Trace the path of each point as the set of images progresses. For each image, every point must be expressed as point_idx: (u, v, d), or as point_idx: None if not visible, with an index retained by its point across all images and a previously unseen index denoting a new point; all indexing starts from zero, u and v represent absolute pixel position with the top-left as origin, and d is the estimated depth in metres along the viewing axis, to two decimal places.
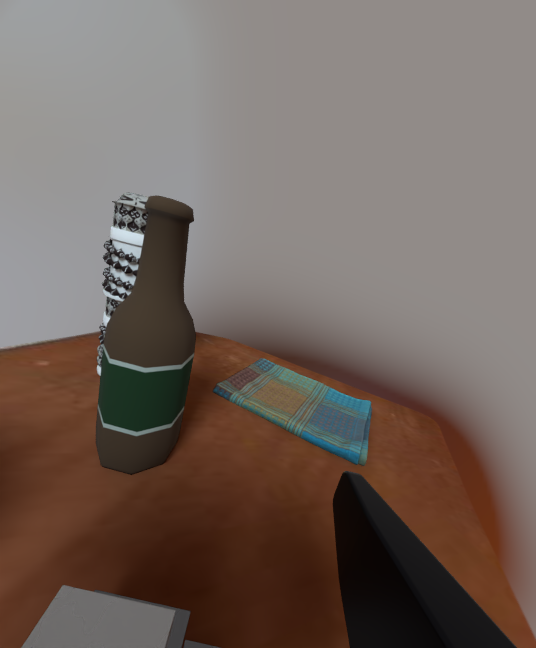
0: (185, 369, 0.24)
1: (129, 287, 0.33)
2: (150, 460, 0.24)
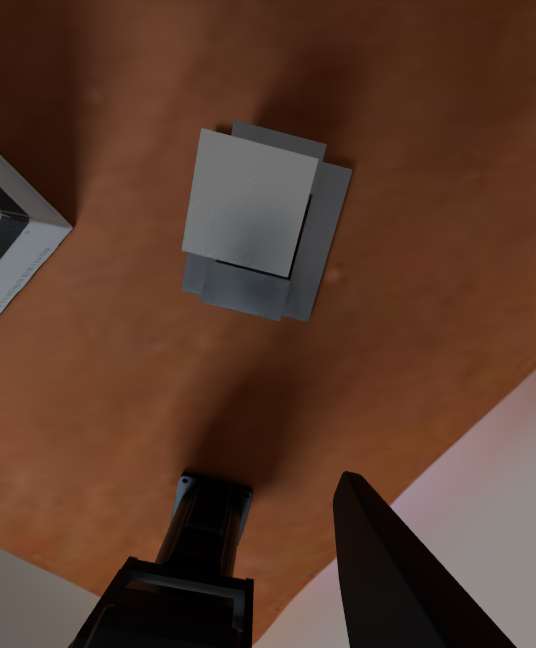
0: None
1: None
2: None
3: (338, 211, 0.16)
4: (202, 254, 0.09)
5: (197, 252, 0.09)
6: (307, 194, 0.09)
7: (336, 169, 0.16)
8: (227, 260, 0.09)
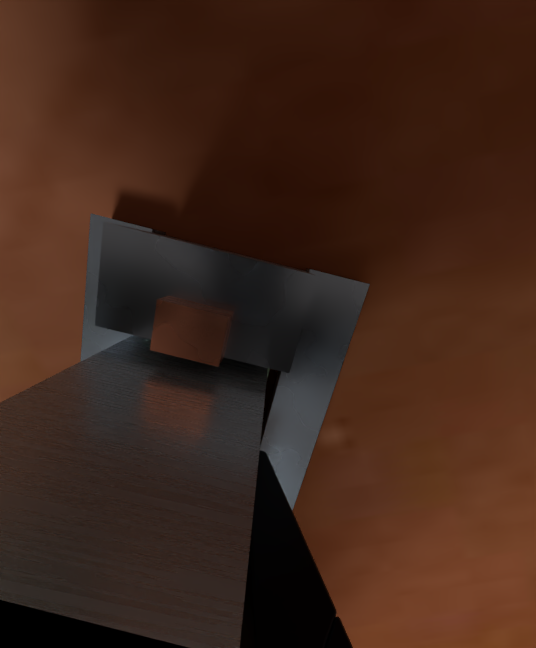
0: None
1: None
2: None
3: (342, 354, 0.09)
4: None
5: None
6: None
7: (338, 283, 0.08)
8: None
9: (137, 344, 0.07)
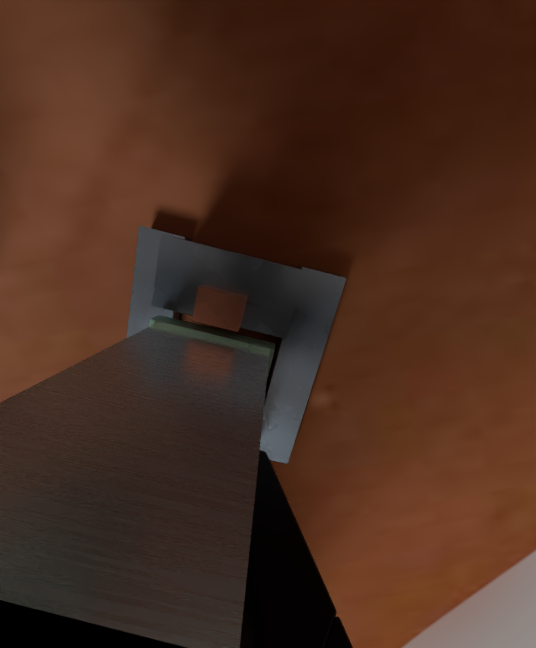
0: None
1: None
2: None
3: (326, 331, 0.12)
4: None
5: None
6: None
7: (323, 277, 0.11)
8: None
9: (137, 344, 0.07)
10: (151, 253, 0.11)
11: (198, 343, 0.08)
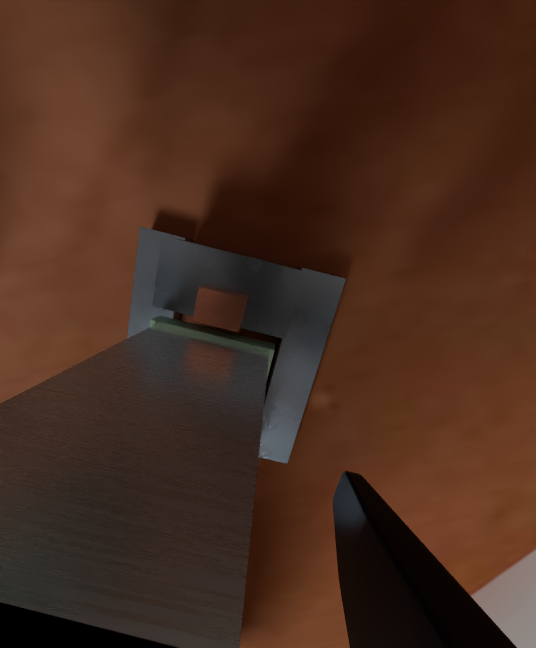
0: None
1: None
2: None
3: (326, 332, 0.12)
4: None
5: None
6: None
7: (323, 278, 0.11)
8: None
9: (138, 344, 0.07)
10: (151, 254, 0.11)
11: (198, 343, 0.08)
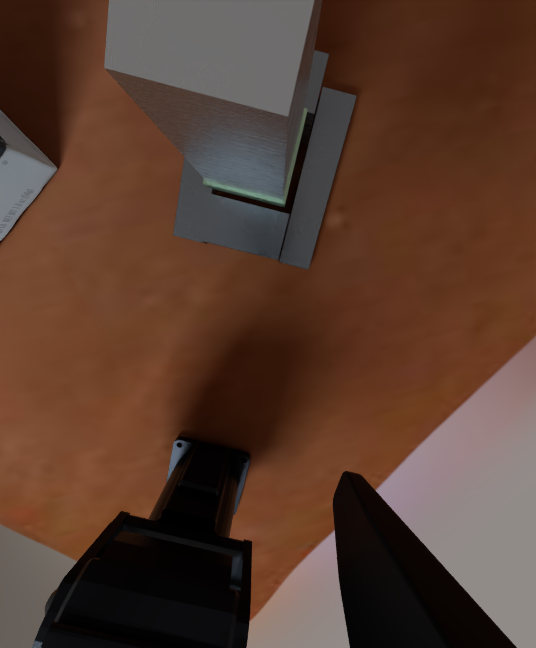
0: None
1: None
2: None
3: (341, 143, 0.15)
4: (140, 76, 0.05)
5: (131, 71, 0.05)
6: None
7: (339, 95, 0.15)
8: (184, 86, 0.05)
9: None
10: None
11: None
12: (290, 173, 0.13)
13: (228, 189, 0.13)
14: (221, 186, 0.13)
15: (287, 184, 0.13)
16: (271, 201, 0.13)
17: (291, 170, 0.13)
